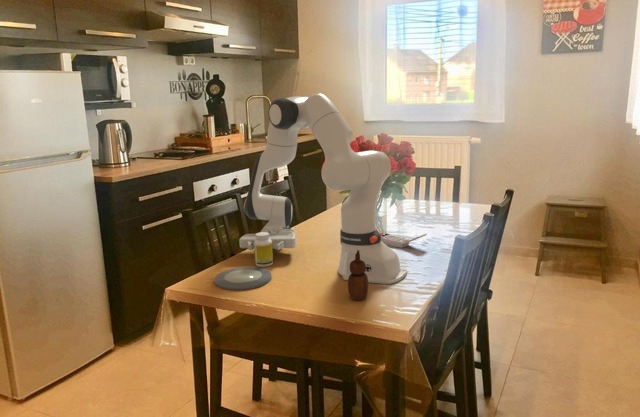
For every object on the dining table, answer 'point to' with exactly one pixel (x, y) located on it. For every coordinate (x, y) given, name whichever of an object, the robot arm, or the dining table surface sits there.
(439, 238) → the dining table surface
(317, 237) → the dining table surface
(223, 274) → the plate
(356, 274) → the brown squeeze bottle
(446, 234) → the dining table surface
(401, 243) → the grey brush
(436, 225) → the dining table surface
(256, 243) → the pill bottle
